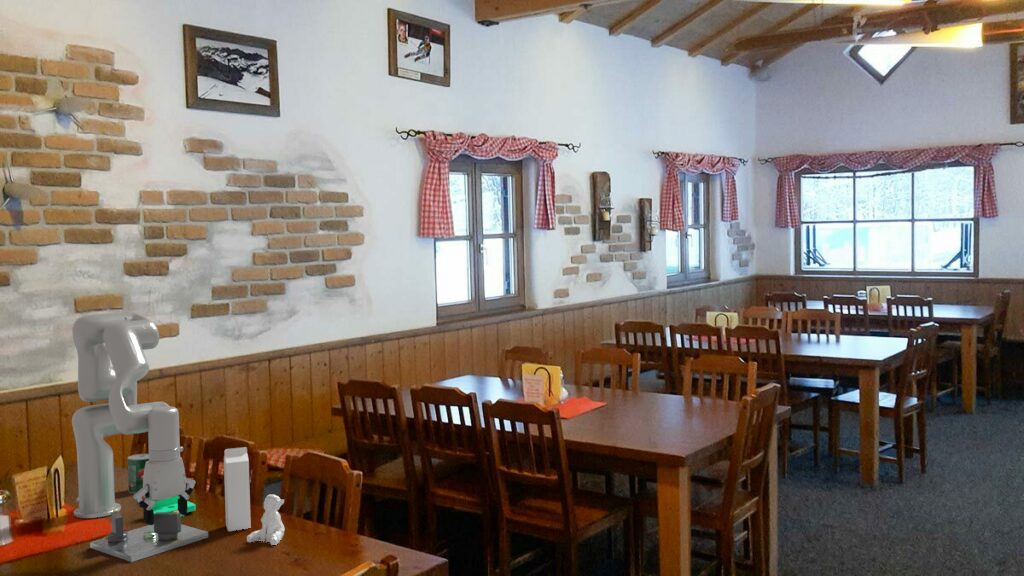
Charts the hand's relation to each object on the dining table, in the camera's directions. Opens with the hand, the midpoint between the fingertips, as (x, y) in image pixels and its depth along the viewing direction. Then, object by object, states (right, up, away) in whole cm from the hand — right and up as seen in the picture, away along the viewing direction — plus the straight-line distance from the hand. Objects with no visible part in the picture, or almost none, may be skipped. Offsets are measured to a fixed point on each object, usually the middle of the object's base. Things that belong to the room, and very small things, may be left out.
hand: (166, 519), depth 233 cm
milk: (+15, -6, +13) cm, 21 cm away
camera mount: (-8, -6, +25) cm, 27 cm away
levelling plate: (-5, -7, +1) cm, 8 cm away
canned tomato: (-28, -5, +53) cm, 60 cm away
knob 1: (-12, -5, -1) cm, 13 cm away
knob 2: (0, -5, 0) cm, 5 cm away
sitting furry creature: (+27, -6, +2) cm, 27 cm away
